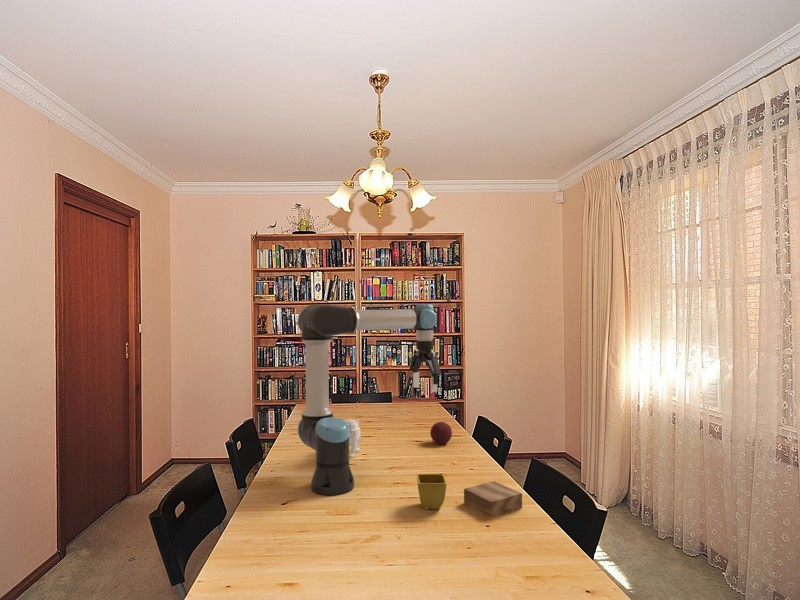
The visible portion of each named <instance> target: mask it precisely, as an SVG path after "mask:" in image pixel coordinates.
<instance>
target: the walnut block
mask: <svg viewBox="0 0 800 600" xmlns="http://www.w3.org/2000/svg"><path fill="white" fill-rule="evenodd" d="M463 504H464V505H467V506H469V507H471V508H473V509H474V510H476V511H478V512H480V513H481V514H484V515H485V516H487V517H489V516H490V517H489V518H491V517H492V518H494V517H493V516H495V517H497V516H496V515H498V516H501V515H504V514H503V513H505V514H507V513H506V512H508V513H510V512H509V511H511V512H513V511H512V510H514V511H516V510H515V509H517V510H520V509H519V508H521V509H522V508H523V493H522V492H520V491H517V490H515V489H513V488H511V487H508V486H505V485H503V484H501V483H499V482H496V481H495V480H493V481H489V482H485V483H481V484H477V485H474V486H470V487H466V488H464V489H463ZM500 514H501V515H500Z"/></svg>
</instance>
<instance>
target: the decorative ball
mask: <svg viewBox="0 0 800 600" xmlns="http://www.w3.org/2000/svg"><path fill="white" fill-rule="evenodd" d="M429 433H430V438H431V439H432V441H433V442H434V443H436V444H438V445H445V444H447V443H449V442H450V441H451V439H452V436H453V431H452V428H451V426H450V425H449V424H448V423H446V422H445V421H439V422H435V423H434V424H433V425H432V427H431V428H430V432H429Z"/></svg>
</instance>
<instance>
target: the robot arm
mask: <svg viewBox="0 0 800 600" xmlns="http://www.w3.org/2000/svg"><path fill="white" fill-rule="evenodd" d="M298 313H299V314H298V316H297V326H298V328H299V330H300V332H301V341H302V343H303V344H304V345H305V408H304V410H302V412H301V420H300V421H299V422H298V426H297V434H298V438H299V439H300V440H301V442H302V443H303V444H304V445H306V446H307V447H309V448H311V449H313V450H314V451H315V468H314V469H315V470H314V471H313V474H312V478H311V482H310V489H311V491H312V492H313V493H315V494H317V495H323V496H335V495H343V494H346V493H349V492H351V491H352V490H353V489H354V488H355V478H354V475H353V472H352V469H351V467H350V445H349V435H350V432H349V425H348V423H347V422H346V421H345V420H346V419H342V418H338V417H334V411H333V410H332V409H331V408H330V402H329V401H330V397H329V396H330V389H329V388H330V386H329V385H330V384H329V382H330V377H329V375H330V372H329V370H330V368H329V367H330V361H329V360H330V358H329V355H330V354H329V353H330V350H329V347H330V346H329V345H330V344H331V343H332V341H333V337H334V336H339V335H350V334H351V335H352V334H354V333H355V332H357V331H374V330H375V331H376V330H377V331H379V330H380V331H382V330H400V329H401V330H402V329H405V330H406V329H407V330H408V329H415V339H416V341H415V349H414V350H413V354H412V355H413V356H412V359H411V363H410V366H409V371H411V372H412V388H420V371H419V369H420V368H421V366H422V364H423V363H425V364H426V365H427V366H428V367H427V368H428V369H429V371H430V373H431V376H430V381H431V382H430V393H438V383H439V381H438V380H439V379H438V378H439V376H442V372H441V368H440V364H439V360H438V357H437V356H438V354H437V352H434V351H432V350H434V345H435V344H434V342H435V341H434V326H435V325H436V324H437V315H436V313H435V312H434V306H433V304H430V303H429V304H428V303H427V304H426V303H422V304H419V303H418V304H416V305H415V308H397V309H356V308H354V307H351V306H350V307H349V306H339V305H332V304H317V303H313V304H310V305H307V306H305V307H303V308H302V309H301V311H299V312H298Z"/></svg>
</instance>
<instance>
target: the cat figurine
mask: <svg viewBox="0 0 800 600" xmlns="http://www.w3.org/2000/svg"><path fill="white" fill-rule="evenodd" d="M344 420H345V421H346V422H347V423H348V425H349V432H350V435H349V446H350V447H351V449H350V455H351V458H350V459H355V457H356V455H355V454H356V453H361V449H360V442H361V439H362V437H361V432H362V431H361V427H359V426H360V419H359V418H356V419H351V418H350V419H349V418H348V419H344Z"/></svg>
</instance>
